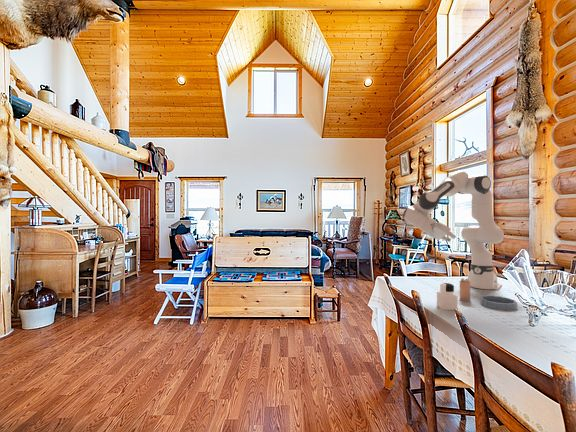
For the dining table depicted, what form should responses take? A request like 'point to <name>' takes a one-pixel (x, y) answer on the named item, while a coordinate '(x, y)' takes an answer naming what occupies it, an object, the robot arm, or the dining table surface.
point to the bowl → (498, 302)
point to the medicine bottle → (447, 297)
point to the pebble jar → (464, 290)
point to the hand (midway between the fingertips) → (452, 239)
